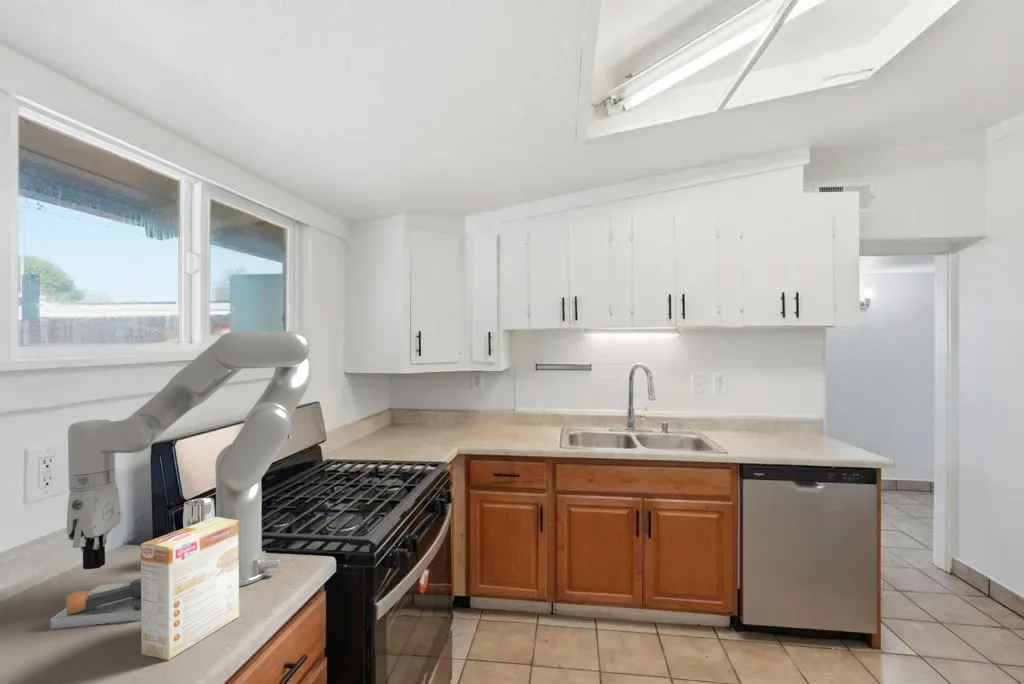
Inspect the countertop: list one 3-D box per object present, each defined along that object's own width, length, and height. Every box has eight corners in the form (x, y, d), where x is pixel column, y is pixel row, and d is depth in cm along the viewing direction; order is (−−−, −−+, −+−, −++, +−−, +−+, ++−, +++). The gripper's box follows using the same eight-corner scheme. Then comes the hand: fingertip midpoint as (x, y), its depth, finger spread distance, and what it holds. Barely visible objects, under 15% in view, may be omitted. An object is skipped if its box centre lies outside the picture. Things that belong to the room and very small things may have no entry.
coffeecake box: (213, 611, 101) (213, 516, 102) (240, 617, 99) (240, 519, 100) (138, 654, 87) (138, 542, 87) (168, 661, 85) (168, 547, 85)
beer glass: (220, 556, 129) (220, 499, 130) (194, 567, 123) (194, 506, 123) (203, 552, 132) (203, 496, 133) (176, 562, 126) (176, 503, 126)
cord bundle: (192, 583, 114) (192, 569, 114) (153, 622, 97) (153, 606, 97) (172, 585, 113) (172, 571, 113) (129, 625, 97) (129, 608, 97)
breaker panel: (177, 587, 112) (177, 577, 112) (142, 620, 98) (142, 608, 98) (97, 594, 109) (97, 584, 109) (50, 629, 96) (50, 617, 96)
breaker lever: (149, 587, 107) (150, 573, 107) (151, 593, 104) (151, 578, 104) (66, 608, 98) (66, 593, 99) (66, 615, 96) (66, 600, 96)
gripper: (89, 487, 97) (91, 581, 97) (132, 469, 112) (134, 551, 112) (45, 490, 96) (47, 585, 96) (95, 472, 111) (96, 554, 110)
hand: (94, 566), depth 104 cm, fingers closed
